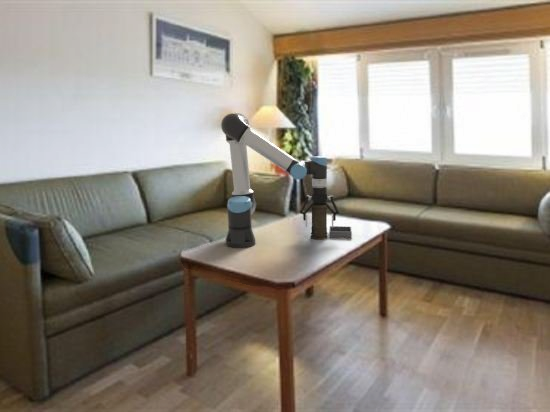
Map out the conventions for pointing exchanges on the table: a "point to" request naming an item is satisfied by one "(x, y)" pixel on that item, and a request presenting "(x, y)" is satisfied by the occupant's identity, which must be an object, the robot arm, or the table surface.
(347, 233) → the tray
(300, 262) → the table surface
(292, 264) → the table surface
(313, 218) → the container
